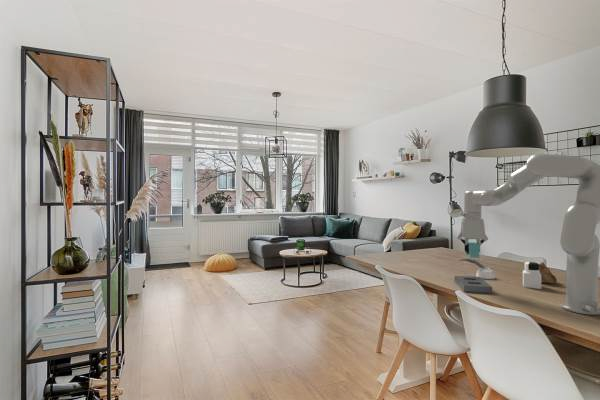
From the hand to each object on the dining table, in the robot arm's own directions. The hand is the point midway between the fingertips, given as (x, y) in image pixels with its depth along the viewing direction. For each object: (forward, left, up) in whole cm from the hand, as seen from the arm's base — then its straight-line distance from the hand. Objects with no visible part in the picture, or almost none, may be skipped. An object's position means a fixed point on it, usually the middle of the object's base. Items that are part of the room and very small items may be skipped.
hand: (472, 252), depth 164 cm
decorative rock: (+19, -38, -17) cm, 46 cm away
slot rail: (0, 0, -17) cm, 17 cm away
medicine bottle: (+8, -29, -17) cm, 35 cm away
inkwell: (+24, -8, -17) cm, 31 cm away
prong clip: (0, 0, -2) cm, 2 cm away
